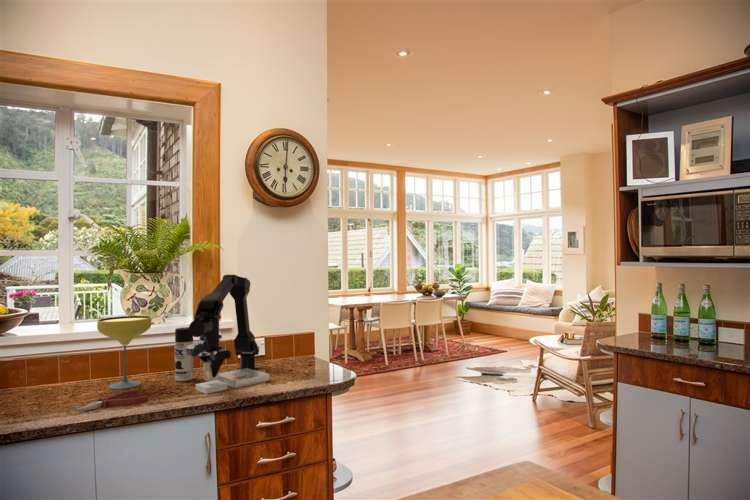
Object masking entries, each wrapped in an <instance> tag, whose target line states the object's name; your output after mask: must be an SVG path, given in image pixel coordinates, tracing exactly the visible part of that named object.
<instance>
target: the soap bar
mask: <svg viewBox="0 0 750 500" xmlns="http://www.w3.org/2000/svg"><path fill="white" fill-rule="evenodd" d="M225 390H228V385H227V383H224V382H221V381H218V380H212V381H205V382H200V383H196V384H195V391H198V392H200V393H202V394H205V395H208V394H211V393H216V392H220V391H225Z"/></svg>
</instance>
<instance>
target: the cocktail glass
mask: <svg viewBox="0 0 750 500" xmlns="http://www.w3.org/2000/svg"><path fill="white" fill-rule="evenodd" d="M96 323H97V324H96V328H97V331H98V332H99V333H100V334H101V335H104V336H105V337H108V338H111V339H113V340H115V341H117V342H118V343H120V345H121V346H122V347H123V353H124V354H123V378H122V381H120V382H116V383H112V384H110V385H109V386H108V389H110V390H128V389H134V388H136V387H138V386H141V385H142V382H140V381H137V380H128V375H127V346H129V344H130V343H131V342H132V340H133V339H135V338H137V337H139V336H141V335H142V334H144V333H146V332H147V331H148V330H149V329H151V327H152V317H151V316H149V315H148V316H146V315H130V316H129V315H126V316H113V317H105V318H100V319H98V320H97V322H96Z"/></svg>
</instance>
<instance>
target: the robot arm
mask: <svg viewBox="0 0 750 500" xmlns="http://www.w3.org/2000/svg"><path fill="white" fill-rule="evenodd" d="M250 289H251V281H250V280H249V279H248V278H247V277H242V276H239V275H236V274H224V275H223V276H222V279H221V280H220V282H219V283H218V284H217V286H215V288H214V289H213V291H212V292H211V293H208V294H205V295H204V296H203V297H202V298H201V299H200V300H199V302H198V305H197V308H196V310H195V314H194V317H193V319H194V320H193V321H192V322H190V324H189V326H188V327H189V332H190V334H191V335H192V336H193V338H199V340H198V341H195V342H193V344H191V345H189V346H187V347H186V349H187V352H188V355H189V356H192V357H193V358H194V357H197V358H198V359H199V360H200V361H202V362H201V363H203V362H210V363H211V370H212V377H216V375H217V373H218V371H219V372H220V369H221V366H222V365H223V363H224V360H227V359H231V358H232V351H231V350H230V349H225V348H223V347H222V346H221V345H220V339H222V334H220V319H221V318H222V316H221V315H220V314H221V312H222V310H223V308H224V305H225V304H224V300H225V298H226V297H227V296H228V295H230V296H231V298H232V299H233V300H234V308H235V316H236V317H235V318H236V326H237V334H236V336H235V338H234V339H233V342H234V345H233V346H234V352H235V356H239V360H240V362H239V364H240V365H239V367H236V370H239V369H245V368H249V369H252V370H257V369H259V366H258V367H257V366H256V361H255V359H256V358H255V357H256V356H258V355H260V354H259V353H260V347H259V346H258V343H257V342H256V338H255V335H254V334H253V332H252V331H251V329H250V320H249V310H248V301H247V298H248V296H249V294H250Z"/></svg>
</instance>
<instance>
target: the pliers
mask: <svg viewBox="0 0 750 500" xmlns="http://www.w3.org/2000/svg"><path fill="white" fill-rule="evenodd" d="M138 395H139V393H138V391H137V390H131V391H130V390H129V391H125V392H120V393H117V394H115V395H111V396H109V397H108V396H107V397H106V398H102V397H101V398H99V399H98V401H93V402H90V403H89V402H88V403H86V404H82V405H80V406H76V407H74V408H72V409H73V410H75V412H76V411H77V412H80V411H89V410H90V411H91V410H96V409H98V408H99V409H102V408H103V409H107V408H110V407H111V408H112V407H123V406H133V405H138V404H143V403H147V402H148V399H149V398H148V396H147V395H140V396H138Z"/></svg>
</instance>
